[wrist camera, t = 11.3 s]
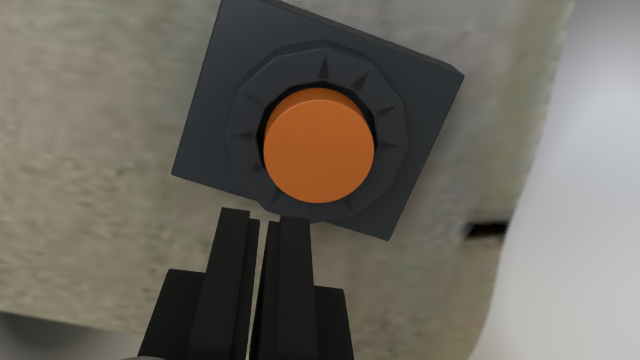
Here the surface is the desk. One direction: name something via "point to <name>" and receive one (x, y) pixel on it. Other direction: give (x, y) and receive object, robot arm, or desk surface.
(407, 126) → the button box
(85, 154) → the desk surface
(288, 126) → the button
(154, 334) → the robot arm
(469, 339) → the desk surface
